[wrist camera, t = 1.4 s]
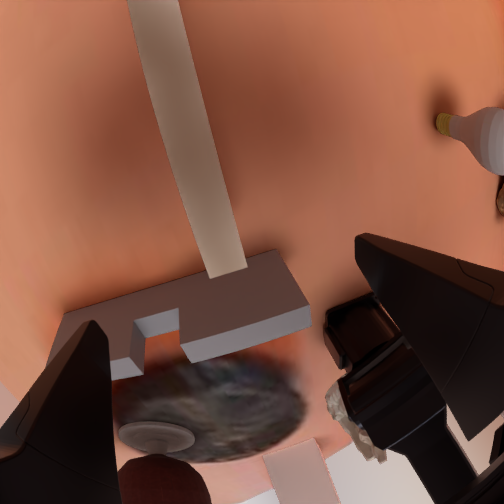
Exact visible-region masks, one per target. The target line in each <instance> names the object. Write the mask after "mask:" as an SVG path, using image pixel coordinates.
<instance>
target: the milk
mask: <svg viewBox="0 0 504 504" xmlns="http://www.w3.org/2000/svg"><path fill="white" fill-rule="evenodd" d="M262 456H263V459H264V462H265V465H266V467H267V470H268V473H269V476H270V478H271V481H272V484H273V486H274V489H275V492H276V494H277V497H278V500H279V502H280V504H341V503H340V500H339V497H338V495H337V492H336V489H335V487H334V484H333V481H332V479H331V476H330V473H329V471H328V468H327V466H326V463H325V460H324V457H323V455H322V452H321V449H320V447H319V446H318V444H317V442H316V440H315V439H314V438H311V439H309V440H306V441H304V442H301V443H298V444H296V445H293V446H290V447H287V448H284V449H281V450H278V451H275V452H272V453H269V454H266V455H262Z"/></svg>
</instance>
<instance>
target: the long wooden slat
mask: <svg viewBox="0 0 504 504" xmlns="http://www.w3.org/2000/svg"><path fill="white" fill-rule="evenodd" d="M127 3H128V8H129V12H130V17H131V22H132V26H133V31H134V35H135V39H136V44H137V48H138V52H139V56H140V60H141V64H142V68H143V72H144V76H145V79H146V83H147V87H148V91H149V94H150V98H151V102H152V105H153V109H154V112H155V116H156V119H157V123H158V126H159V129H160V133H161V136H162V140H163V143H164V146H165V149H166V153H167V156H168V159H169V162H170V165H171V169H172V172H173V175H174V178H175V181H176V184H177V187H178V190H179V193H180V196H181V199H182V202H183V205H184V208H185V211H186V214H187V217H188V220H189V223H190V225H191V228H192V231H193V234H194V237H195V240H196V242H197V245H198V248H199V251H200V253H201V256H202V259H203V262H204V264H205V267H206V270H207V272H208V275H209V278H210V279H211V278H214V277H218V276H221V275H224V274H227V273H231V272H234V271H237V270H240V269H243V268H247V267H248V266H247V263H246V259H245V255H244V252H243V248H242V244H241V241H240V237H239V233H238V229H237V226H236V222H235V218H234V215H233V211H232V207H231V204H230V200H229V196H228V192H227V189H226V185H225V181H224V177H223V174H222V170H221V166H220V162H219V158H218V155H217V151H216V147H215V143H214V140H213V136H212V132H211V128H210V124H209V120H208V117H207V113H206V109H205V105H204V101H203V97H202V93H201V90H200V86H199V82H198V78H197V74H196V70H195V66H194V62H193V58H192V54H191V51H190V47H189V43H188V39H187V35H186V31H185V27H184V23H183V19H182V15H181V11H180V7H179V3H178V0H127Z"/></svg>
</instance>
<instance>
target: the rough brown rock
mask: <svg viewBox="0 0 504 504" xmlns="http://www.w3.org/2000/svg"><path fill="white" fill-rule="evenodd" d="M496 202H497V206H498V209H499V211H500V213H501V214H502V215H503V216H504V184H503V187H502V189H501V190H500V192H499V195H498V197H497V200H496Z"/></svg>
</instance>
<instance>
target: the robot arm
mask: <svg viewBox="0 0 504 504" xmlns="http://www.w3.org/2000/svg"><path fill="white" fill-rule="evenodd" d="M355 260H356V263H357V265H358V266H359V268H360V270H361V271H362V273H363V275H364V276H365V278H366V280H367V282H368V283H369V285H370V287H371V288H372V290H373V293H370V294H368V295H365V296H363V297H361V298H358V299H356V300H353V301H351V302H348V303H346V304H343V305H341V306H338V307H335V308H333V309H330V310H328V311H327V312H326V328H325V330H324V334H325V345H326V346H327V348H328V350H329V352H330V354H331V356H332V357H333V359H334V361H335V363H336V365H337V366H338V368H339V369H341V370H342V369H345V370H346V372H347V374H346V375H345V376H344V377H341V378H339V379H338V380H337V382H338V385H339V387H338V388H339V391H340V394H341V397H342V400H343V403H344V406H345V409H346V412H347V415H348V420H349V421H350V422H353V423H355V424H356V425H357V426H358V427H359V428H360V429H361V430H366V432H367V434H368V436H369V437H370V439H371V441H372V443H373V445H374V446H375V447H377V448H379V449H381V450H383V451H385V450H386V449H389V450H392V451H394V452H397V453H399V454H402V455H405V456H406V457H407V458H408V460H409V462H410V463H411V465H412V467H413V468H414V470H415V472H416V473H417V475H418V476H419V478H420V480H421V481H422V483H423V485H424V486H425V488H426V490H427V492H428V493H429V495H430V496H431V498H432V500H433V502H434V503H435V504H504V423H503V424H502V425H501V426H500V427H499V428H498V429H497V430H496V431H495V435H494V441H493V446H492V451H491V456H490V460H489V463H490V466H489V467H488V468H487V469H486V470H484V471H483V472H482V473H481V474H480V475H478V473H477V471H476V470H475V468H474V466H473V465H472V463H471V461H470V460H469V458H468V456H467V455H466V453H465V451H464V450H463V448H462V447H461V446H460V444H459V442H458V440H457V439H456V437H455V435H454V434H453V432H452V431H451V429H450V428H449V426H448V425H447V409H446V407H447V406H446V403H447V405H448V406H449V408H450V410H451V412H452V414H453V415H454V417H455V419H456V420H457V422H458V424H459V426H460V428H461V430H462V431H463V433H464V435H465V437H466V439H467V440H468V441H470V440H471V439H472V438H474V437H475V436H476V435H477V434H479V433H480V432H481V431H482V430H483V429H484V428H486V427H487V426H488V425H489V424H490V423H491V422H492V421H494V420H495V419H496V418H497V417H498V416H499V415H500V414H501V415H502V417H503V418H504V272H503V271H499V270H496V269H492V268H488V267H484V266H480V265H477V264H474V263H470V262H467V261H464V260H461V259H456V258H454V257H451V256H448V255H444V254H441V253H438V252H434V251H431V250H428V249H424V248H421V247H417V246H414V245H410V244H407V243H403V242H399V241H396V240H392V239H389V238H385V237H381V236H377V235H374V234H370V233H363V234H360V235H357V236H356V237H355ZM380 303H381V304H382V305H383V307H384V308H385V310H386V311H387V312H388V314H389V315H390V317H391V318H392V319H393V321H394V322H395V324H396V325H397V326H396V325H395V324H394V322H393V321H392V320H391V319H390V317H389V316H388V315H387V314H386V312H385V311H384V310H383V309H382V308H381V306H380V305H379V304H380ZM399 329H400V330H399ZM0 504H123V503H122V497H121V492H120V486H119V480H118V472H117V465H116V456H115V445H114V433H113V415H112V378H111V366H110V352H109V340H108V337H107V335H106V334H105V332H104V331H103V330H102V328H101V327H100V326H99V324H98V323H97V322H96V321H95V320H93V319H91V320H88V321H84V322H83V323H82V324H81V325H80V326H79V328H78V329H77V330H76V331H75V332H74V334H73V335H72V336H71V337H70V338H69V339H68V341H67V342H66V343H65V344H64V346H63V347H62V348H61V349H60V350H59V352H58V353H57V354H56V355H55V357H54V358H53V359H52V360H51V362H50V363H49V364H48V366H47V367H46V368H45V369H44V371H43V372H42V373H41V375H40V376H39V377H38V379H37V380H36V381H35V383H34V384H33V385H32V387H31V388H30V389H29V391H28V392H27V393H26V395H25V396H24V398H23V399H22V400H21V402H20V403H19V405H18V406H17V407H16V409H15V410H14V411H13V413H12V414H11V415H10V416H9V418H8V419H7V420H6V422H5V423H4V424H3V426H2V427H1V428H0Z"/></svg>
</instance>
